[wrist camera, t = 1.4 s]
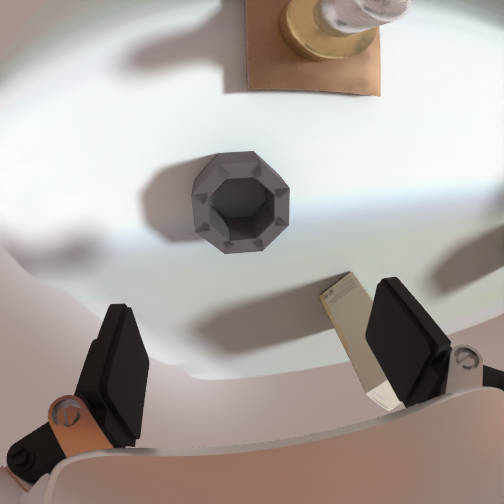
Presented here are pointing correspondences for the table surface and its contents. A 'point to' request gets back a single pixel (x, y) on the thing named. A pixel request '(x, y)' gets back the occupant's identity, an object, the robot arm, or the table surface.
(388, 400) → the skincare box
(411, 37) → the table surface
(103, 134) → the table surface
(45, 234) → the table surface
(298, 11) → the post stand
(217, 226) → the ring
